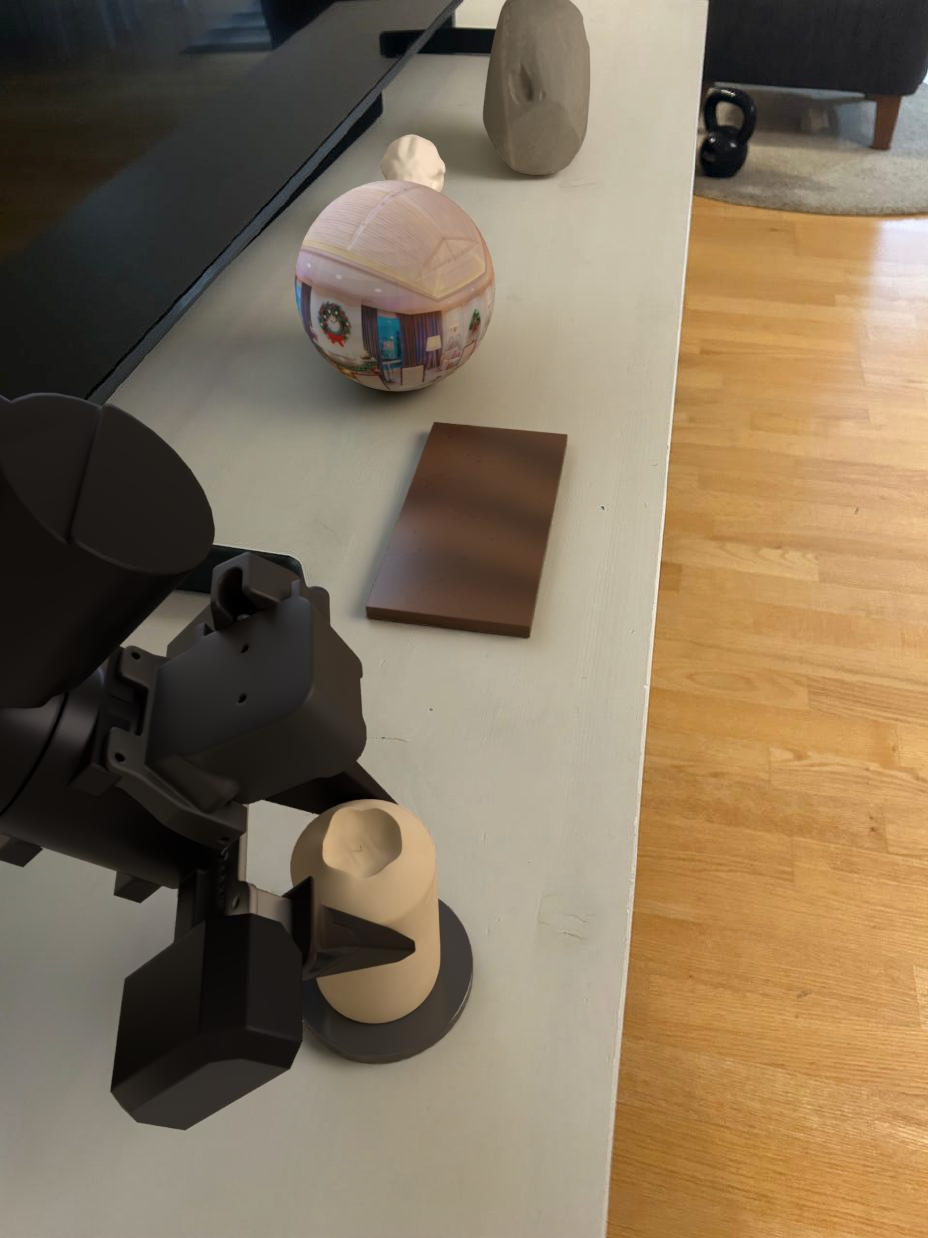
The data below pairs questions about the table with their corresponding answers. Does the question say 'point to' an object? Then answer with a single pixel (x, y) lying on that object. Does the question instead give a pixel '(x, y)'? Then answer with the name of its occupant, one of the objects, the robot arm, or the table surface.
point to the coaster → (411, 1029)
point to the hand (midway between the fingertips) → (402, 882)
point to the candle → (376, 900)
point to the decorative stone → (538, 85)
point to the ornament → (395, 285)
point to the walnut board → (472, 531)
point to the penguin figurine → (414, 162)
